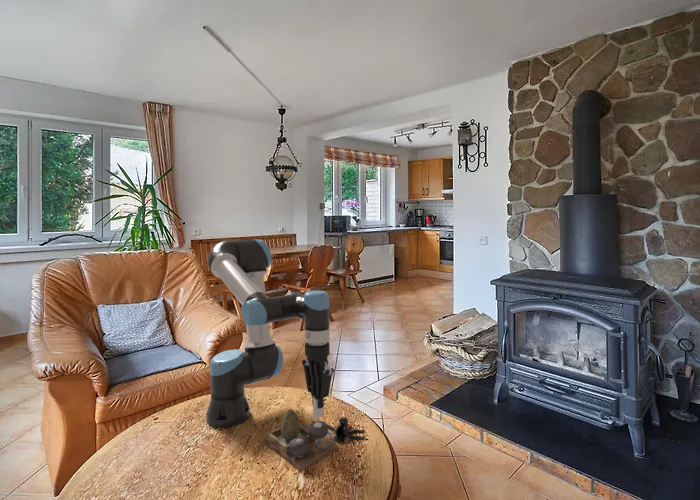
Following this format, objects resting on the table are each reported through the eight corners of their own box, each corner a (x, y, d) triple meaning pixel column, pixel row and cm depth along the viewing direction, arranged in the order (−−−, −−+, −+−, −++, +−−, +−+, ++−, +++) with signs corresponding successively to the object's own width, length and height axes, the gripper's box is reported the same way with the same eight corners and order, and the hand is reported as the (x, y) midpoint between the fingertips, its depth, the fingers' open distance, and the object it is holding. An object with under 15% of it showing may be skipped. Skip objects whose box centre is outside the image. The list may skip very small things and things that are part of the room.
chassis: (262, 442, 128) (262, 424, 127) (300, 425, 138) (300, 408, 137) (299, 470, 113) (299, 450, 113) (338, 449, 123) (338, 431, 123)
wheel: (304, 432, 123) (304, 424, 122) (319, 425, 127) (319, 417, 126) (316, 440, 118) (316, 431, 118) (331, 433, 122) (331, 424, 122)
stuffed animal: (364, 442, 126) (333, 420, 127) (347, 464, 127) (316, 442, 128) (368, 423, 137) (339, 402, 138) (352, 443, 139) (324, 423, 140)
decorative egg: (283, 446, 123) (282, 415, 122) (279, 436, 128) (278, 407, 127) (302, 442, 125) (301, 412, 124) (297, 433, 130) (297, 403, 129)
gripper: (294, 339, 122) (295, 413, 124) (321, 349, 113) (322, 429, 115) (313, 334, 127) (314, 405, 129) (340, 344, 118) (341, 420, 120)
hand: (318, 416), depth 122 cm, fingers closed
